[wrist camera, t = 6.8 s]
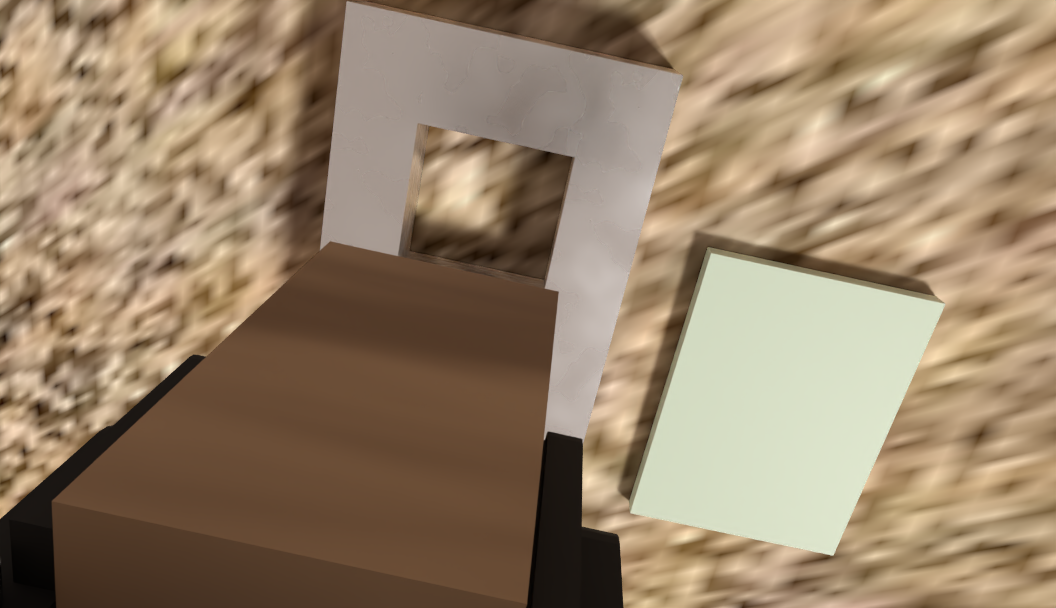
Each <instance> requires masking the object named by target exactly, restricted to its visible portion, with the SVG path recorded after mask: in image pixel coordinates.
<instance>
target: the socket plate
mask: <svg viewBox="0 0 1056 608" xmlns="http://www.w3.org/2000/svg"><path fill="white" fill-rule="evenodd" d="M682 78H683V75H682V74H680V73H679V72H677V71H676V70H674V69H671V68H666V67H662V66H657V65H653V64H648V63H644V62H639V61H634V60H630V59H625V58H621V57H616V56H612V55H607V54H603V53H598V52H594V51H589V50H585V49H580V48H576V47H571V46H567V45H562V44H558V43H553V42H548V41H544V40H539V39H535V38H530V37H526V36H521V35H517V34H512V33H508V32H503V31H499V30H494V29H490V28H485V27H481V26H476V25H472V24H467V23H463V22H458V21H453V20H449V19H444V18H440V17H435V16H431V15H426V14H422V13H417V12H413V11H408V10H404V9H399V8H395V7H390V6H386V5H381V4H377V3H372V2H368V1H347V2H346V12H345V21H344V30H343V40H342V49H341V58H340V68H339V77H338V86H337V96H336V105H335V114H334V124H333V133H332V142H331V152H330V161H329V170H328V179H327V189H326V198H325V207H324V217H323V226H322V235H321V245H320V250H321V249H322V248H323V247H324V246H325V245H327V244H328V243H329V242H330V241H331V242H336V243H340V244H345V245H349V246H354V247H359V248H363V249H368V250H372V251H377V252H381V253H386V254H390V255H395V256H399V257H404V258H409V259H413V260H418V261H422V262H427V263H431V264H436V265H440V266H445V267H449V268H454V269H459V270H463V271H468V272H472V273H477V274H481V275H486V276H490V277H495V278H499V279H504V280H509V281H513V282H518V283H522V284H527V285H531V286H536V287H540V288H545V289H549V290H554V291H559V295H558V304H557V314H556V324H555V334H554V344H553V353H552V363H551V373H550V383H549V393H548V402H547V412H546V422H545V432H544V440H545V438H546V434H547V432H548V431H550V432H554V433H559V434H563V435H568V436H572V437H577V438H582V439H583V442H584V438H585V434H586V431H587V427H588V423H589V420H590V416H591V412H592V409H593V405H594V401H595V398H596V394H597V390H598V387H599V383H600V379H601V376H602V372H603V368H604V365H605V361H606V357H607V354H608V350H609V346H610V343H611V339H612V335H613V332H614V328H615V324H616V321H617V317H618V313H619V309H620V306H621V302H622V298H623V295H624V291H625V287H626V284H627V280H628V276H629V273H630V269H631V265H632V262H633V258H634V254H635V251H636V247H637V243H638V240H639V236H640V232H641V229H642V225H643V221H644V218H645V214H646V210H647V207H648V203H649V199H650V196H651V192H652V188H653V185H654V181H655V177H656V173H657V170H658V166H659V162H660V159H661V155H662V151H663V148H664V144H665V140H666V137H667V133H668V129H669V126H670V122H671V118H672V115H673V111H674V107H675V104H676V100H677V96H678V93H679V89H680V85H681V82H682ZM429 126H433V127H438V128H443V129H447V130H452V131H456V132H461V133H465V134H470V135H475V136H479V137H484V138H488V139H493V140H498V141H502V142H507V143H511V144H516V145H520V146H525V147H530V148H534V149H539V150H543V151H548V152H553V153H557V154H562V155H566V156H571V157H572V161H571V165H570V170H569V174H568V178H567V183H566V187H565V192H564V196H563V200H562V205H561V209H560V213H559V218H558V222H557V227H556V231H555V235H554V240H553V244H552V249H551V253H550V257H549V262H548V266H547V270H546V275H545V279H544V280H543V279H538V278H533V277H529V276H524V275H520V274H515V273H510V272H506V271H501V270H496V269H492V268H487V267H482V266H478V265H473V264H468V263H464V262H459V261H454V260H450V259H445V258H440V257H436V256H431V255H427V254H422V253H417V252H413V251H410V246H411V239H412V233H413V226H414V220H415V213H416V207H417V200H418V194H419V187H420V181H421V174H422V168H423V161H424V155H425V148H426V142H427V135H428V129H429Z"/></svg>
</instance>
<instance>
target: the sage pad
mask: <svg viewBox="0 0 1056 608" xmlns="http://www.w3.org/2000/svg"><path fill="white" fill-rule="evenodd" d="M944 306H945V303H944V302H942V301H941V300H940V299H939V298H938V297H936V296H932V295H928V294H923V293H919V292H914V291H909V290H905V289H900V288H896V287H891V286H886V285H882V284H877V283H873V282H868V281H863V280H859V279H854V278H849V277H845V276H840V275H836V274H831V273H826V272H822V271H817V270H813V269H808V268H803V267H799V266H794V265H789V264H785V263H780V262H776V261H771V260H766V259H762V258H757V257H753V256H748V255H743V254H739V253H734V252H730V251H725V250H720V249H716V248H711V247H708V248H707V251H706V254H705V257H704V261H703V264H702V267H701V270H700V274H699V277H698V280H697V283H696V286H695V290H694V293H693V296H692V299H691V303H690V306H689V309H688V312H687V316H686V319H685V322H684V325H683V329H682V332H681V335H680V338H679V341H678V345H677V348H676V351H675V354H674V358H673V361H672V364H671V367H670V371H669V374H668V377H667V380H666V384H665V387H664V390H663V393H662V396H661V400H660V403H659V406H658V409H657V413H656V416H655V419H654V422H653V426H652V429H651V432H650V435H649V439H648V442H647V445H646V448H645V451H644V455H643V458H642V461H641V464H640V468H639V471H638V474H637V477H636V481H635V484H634V487H633V490H632V493H631V497H630V500H629V507H630V513H632V514H637V515H642V516H647V517H651V518H656V519H661V520H666V521H670V522H675V523H680V524H685V525H690V526H694V527H699V528H704V529H709V530H713V531H718V532H723V533H728V534H732V535H737V536H742V537H747V538H751V539H756V540H761V541H766V542H771V543H775V544H780V545H785V546H790V547H794V548H799V549H804V550H809V551H813V552H818V553H823V554H828V555H834V553H835V550H836V548H837V546H838V544H839V541H840V539H841V537H842V535H843V532H844V530H845V528H846V526H847V523H848V521H849V519H850V517H851V514H852V512H853V510H854V508H855V505H856V503H857V501H858V499H859V496H860V494H861V492H862V490H863V488H864V485H865V483H866V481H867V479H868V476H869V474H870V472H871V470H872V467H873V465H874V463H875V461H876V458H877V456H878V454H879V452H880V449H881V447H882V445H883V443H884V440H885V438H886V436H887V434H888V432H889V429H890V427H891V425H892V423H893V420H894V418H895V416H896V414H897V411H898V409H899V407H900V405H901V402H902V400H903V398H904V396H905V393H906V391H907V389H908V387H909V384H910V382H911V380H912V378H913V375H914V373H915V371H916V369H917V367H918V364H919V362H920V360H921V358H922V355H923V353H924V351H925V349H926V346H927V344H928V342H929V340H930V337H931V335H932V333H933V331H934V328H935V326H936V324H937V322H938V319H939V317H940V315H941V313H942V311H943V308H944Z"/></svg>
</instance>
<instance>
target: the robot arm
mask: <svg viewBox="0 0 1056 608" xmlns="http://www.w3.org/2000/svg"><path fill="white" fill-rule="evenodd" d="M204 358H206V357H205V356H200V355H192V356H191V357H189V358H188V359H187V360H186V361H185V362H183V363H182V364H181V365H180V366H179V367H178V368H177V369H176V370H175V371H173V372H172V373H171V374H170V375H169V376H168V377H167V378H166V379H165V380H163V381H162V382H161V383H160V384H159V385H158V386H157V387H156V388H155V389H153V390H152V391H151V392H150V393H149V394H148V395H147V396H146V397H144V398H143V399H142V400H141V401H140V402H139V403H138V404H137V405H136V406H134V407H133V408H132V409H131V410H130V411H129V412H128V413H127V414H126V415H124V416H123V417H122V418H121V419H120V420H119V421H118V422H117V423H116V424H114V425H113V426H107V427H106V428H104V429H103V430H101V431H99V432H98V433H97V434H96V435H95V436H94V437H93V438H91V439H90V440H89V441H88V442H87V443H86V444H85V445H83V446H82V447H81V448H80V449H79V450H78V451H77V452H76V453H74V454H73V455H72V456H71V457H70V458H69V459H68V460H67V461H65V462H64V463H63V464H62V465H61V466H60V467H59V468H57V469H56V470H55V471H54V472H53V473H52V474H51V475H50V476H48V477H47V478H46V479H45V480H44V481H43V482H42V483H41V484H39V485H38V486H37V487H36V488H35V489H34V490H33V491H31V492H30V493H29V494H28V495H27V496H26V497H25V498H24V499H22V500H21V501H20V502H19V503H18V504H17V505H16V506H15V507H13V508H12V509H11V510H10V511H9V512H8V513H7V514H6V515H4V516H3V517H2V518H1V519H0V608H56V591H55V568H54V544H53V521H52V500H53V499H55V498H56V497H57V496H58V495H59V494H60V493H61V492H62V491H63V490H64V489H65V488H66V487H67V486H68V485H70V484H71V483H72V482H73V481H74V480H75V479H76V478H77V477H78V476H79V475H80V474H81V473H82V472H83V471H85V470H86V469H87V468H88V467H89V466H90V465H91V464H92V463H93V462H94V461H95V460H96V459H97V458H98V457H100V456H101V455H102V454H103V453H104V452H105V451H106V450H107V449H108V448H109V447H110V446H111V445H112V444H113V443H115V442H116V441H117V440H118V439H119V438H120V437H121V436H122V435H123V434H124V433H125V432H126V431H127V430H128V429H130V428H131V427H132V426H133V425H134V424H135V423H136V422H137V421H138V420H139V419H140V418H141V417H142V416H143V415H145V414H146V413H147V412H148V411H149V410H150V409H151V408H152V407H153V406H154V405H155V404H156V403H157V402H158V401H159V400H161V399H162V398H163V397H164V396H165V395H166V394H167V393H168V392H169V391H170V390H171V389H172V388H173V387H174V386H176V385H177V384H178V383H179V382H180V381H181V380H182V379H183V378H184V377H185V376H186V375H187V374H188V373H189V372H191V371H192V370H193V369H194V368H195V367H196V366H197V365H198V364H199V363H200V362H201V361H202V360H203V359H204ZM582 461H583V439H582V438H577V437H572V436H568V435H563V434H559V433H554V432H550V431H548V432H547V434H546V438H545V440H544V442H543V451H542V461H541V471H540V481H539V491H538V500H537V510H536V520H535V530H534V540H533V549H532V559H531V569H530V579H529V589H528V598H527V606H526V608H623V594H622V576H621V558H620V543H619V537H618V535H617V534H613V533H609V532H604V531H599V530H595V529H590V528H586V527H582Z"/></svg>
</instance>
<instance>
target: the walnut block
mask: <svg viewBox="0 0 1056 608" xmlns="http://www.w3.org/2000/svg"><path fill="white" fill-rule="evenodd" d="M558 295H559V291H554V290H549V289H545V288H540V287H536V286H531V285H527V284H522V283H518V282H513V281H509V280H504V279H499V278H495V277H490V276H486V275H481V274H477V273H472V272H468V271H463V270H459V269H454V268H449V267H445V266H440V265H436V264H431V263H427V262H422V261H418V260H413V259H409V258H404V257H399V256H395V255H390V254H386V253H381V252H377V251H372V250H368V249H363V248H359V247H354V246H349V245H345V244H340V243H336V242H331V241H330V242H329V243H328V244H327V245H325V246H324V247H323V248H322V249H321V250H320V251H319V252H318V253H317V254H316V255H315V256H314V257H313V258H312V259H310V260H309V261H308V262H307V263H306V264H305V265H304V266H303V267H302V268H301V269H300V270H299V271H298V272H297V273H295V274H294V275H293V276H292V277H291V278H290V279H289V280H288V281H287V282H286V283H285V284H284V285H283V286H282V287H281V288H279V289H278V290H277V291H276V292H275V293H274V294H273V295H272V296H271V297H270V298H269V299H268V300H267V301H266V302H264V303H263V304H262V305H261V306H260V307H259V308H258V309H257V310H256V311H255V312H254V313H253V314H252V315H251V316H249V317H248V318H247V319H246V320H245V321H244V322H243V323H242V324H241V325H240V326H239V327H238V328H237V329H236V330H234V331H233V332H232V333H231V334H230V335H229V336H228V337H227V338H226V339H225V340H224V341H223V342H222V343H221V344H219V345H218V346H217V347H216V348H215V349H214V350H213V351H212V352H211V353H210V354H209V355H208V356H207V357H206V358H204V359H203V360H202V361H201V362H200V363H199V364H198V365H197V366H196V367H195V368H194V369H193V370H192V371H191V372H189V373H188V374H187V375H186V376H185V377H184V378H183V379H182V380H181V381H180V382H179V383H178V384H177V385H176V386H174V387H173V388H172V389H171V390H170V391H169V392H168V393H167V394H166V395H165V396H164V397H163V398H162V399H161V400H159V401H158V402H157V403H156V404H155V405H154V406H153V407H152V408H151V409H150V410H149V411H148V412H147V413H146V414H145V415H143V416H142V417H141V418H140V419H139V420H138V421H137V422H136V423H135V424H134V425H133V426H132V427H131V428H130V429H128V430H127V431H126V432H125V433H124V434H123V435H122V436H121V437H120V438H119V439H118V440H117V441H116V442H115V443H113V444H112V445H111V446H110V447H109V448H108V449H107V450H106V451H105V452H104V453H103V454H102V455H101V456H100V457H98V458H97V459H96V460H95V461H94V462H93V463H92V464H91V465H90V466H89V467H88V468H87V469H86V470H85V471H83V472H82V473H81V474H80V475H79V476H78V477H77V478H76V479H75V480H74V481H73V482H72V483H71V484H70V485H68V486H67V487H66V488H65V489H64V490H63V491H62V492H61V493H60V494H59V495H58V496H57V497H56V498H55V499H53V500H52V521H53V544H54V568H55V591H56V608H526V606H527V598H528V589H529V579H530V569H531V559H532V549H533V540H534V530H535V520H536V510H537V500H538V491H539V481H540V471H541V461H542V451H543V442H544V432H545V422H546V412H547V402H548V393H549V383H550V373H551V363H552V353H553V344H554V334H555V324H556V314H557V304H558Z"/></svg>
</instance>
